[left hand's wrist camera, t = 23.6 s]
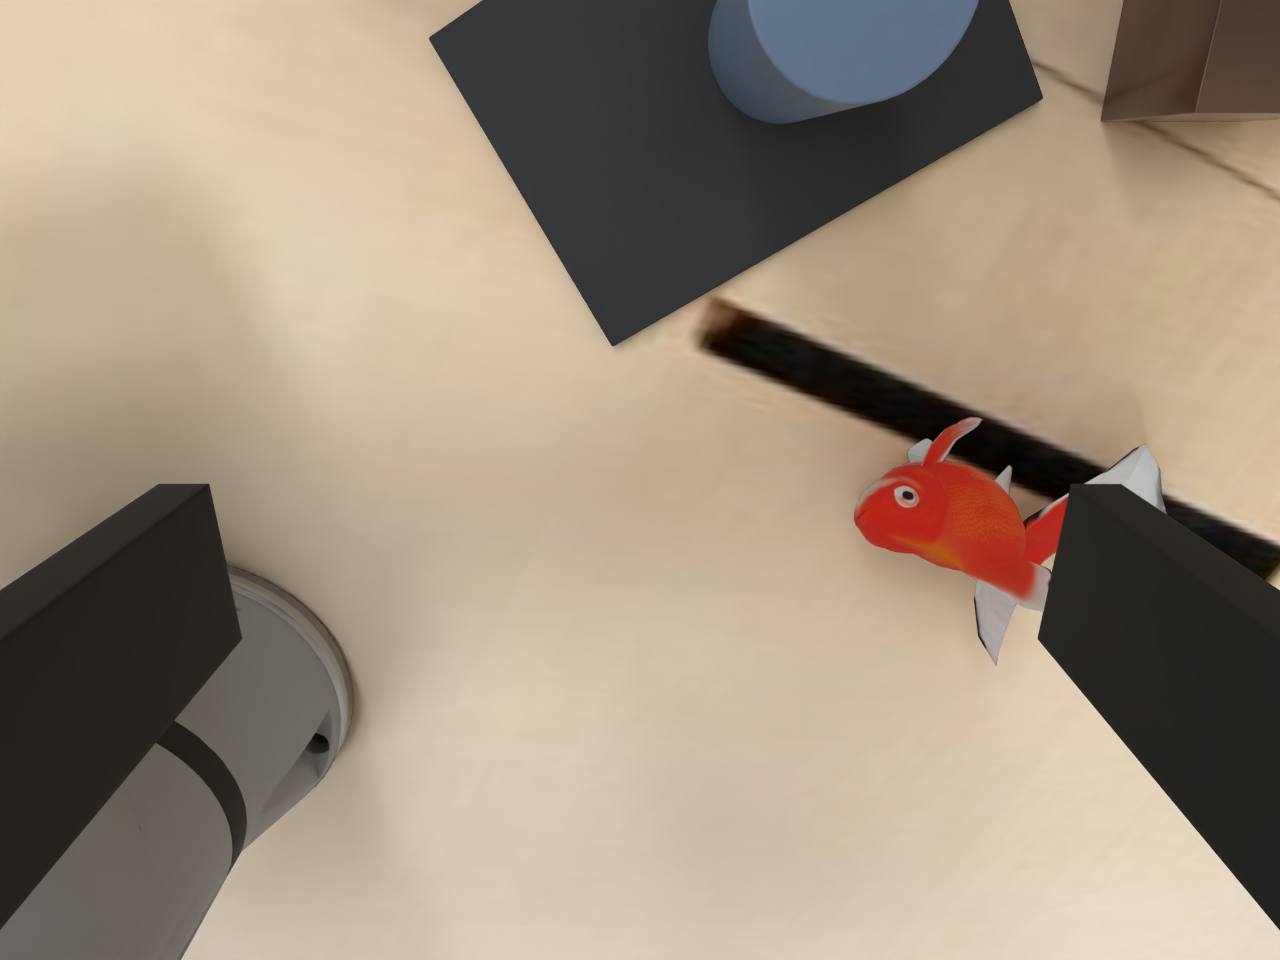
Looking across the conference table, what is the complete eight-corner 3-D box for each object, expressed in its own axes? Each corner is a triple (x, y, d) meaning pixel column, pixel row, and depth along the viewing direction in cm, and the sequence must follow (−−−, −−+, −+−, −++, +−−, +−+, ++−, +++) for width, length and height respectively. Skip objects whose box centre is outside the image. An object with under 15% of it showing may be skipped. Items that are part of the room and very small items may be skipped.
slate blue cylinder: (751, 153, 33) (809, 149, 21) (679, 7, 31) (702, -81, 20) (887, 70, 32) (1023, 22, 20) (822, -87, 30) (932, -236, 18)
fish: (969, 291, 31) (1112, 498, 25) (1153, 406, 39) (1292, 581, 33) (780, 461, 37) (858, 660, 31) (975, 528, 45) (1065, 694, 39)
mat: (612, 344, 36) (612, 347, 36) (431, 39, 32) (427, 37, 31) (1037, 99, 32) (1044, 98, 32) (900, -285, 28) (905, -294, 27)
